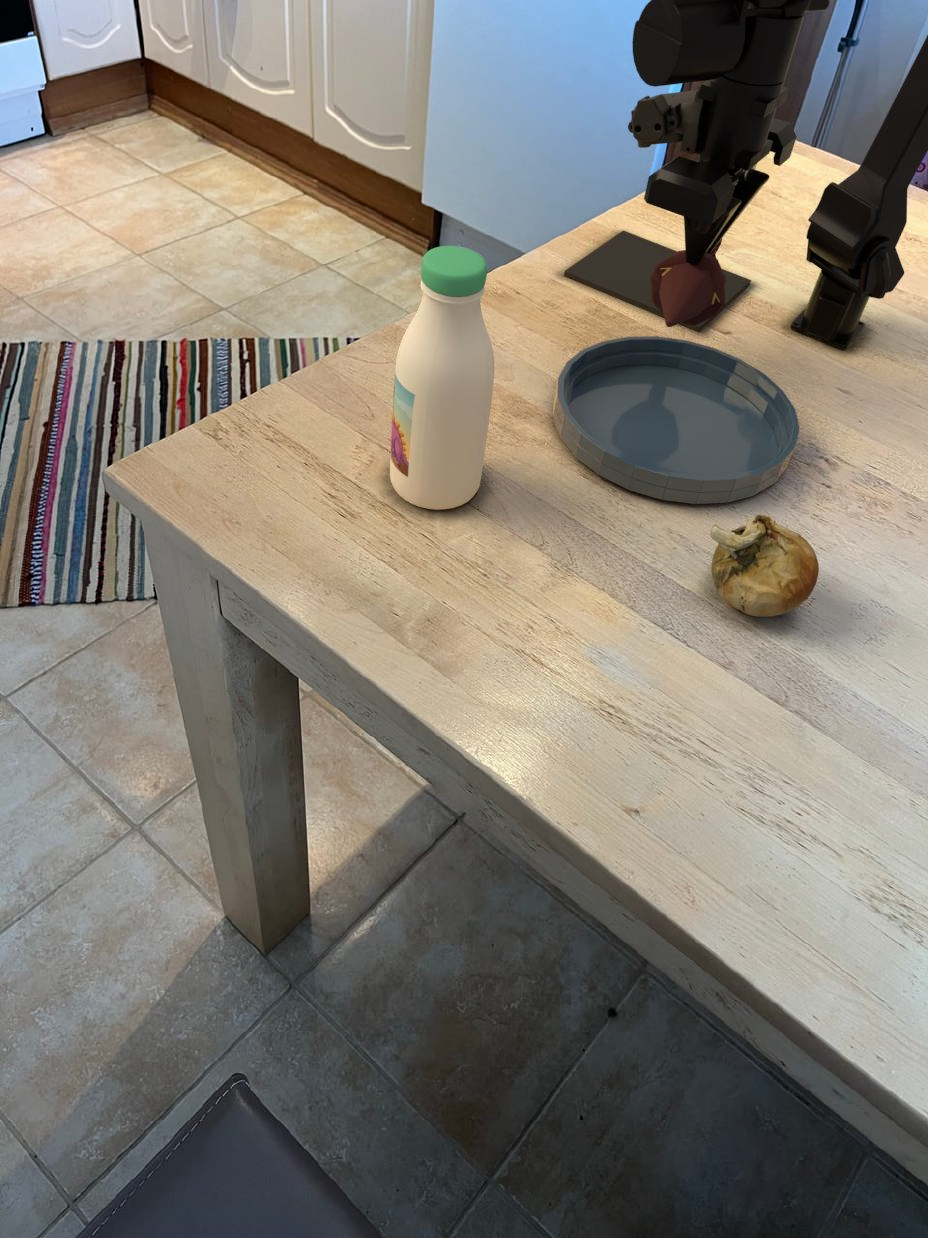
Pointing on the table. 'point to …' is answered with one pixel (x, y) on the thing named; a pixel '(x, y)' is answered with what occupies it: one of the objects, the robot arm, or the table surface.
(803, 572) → the onion
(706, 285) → the dark red teardrop piece
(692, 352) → the bowl
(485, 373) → the milk bottle
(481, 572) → the table surface
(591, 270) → the plate
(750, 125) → the robot arm
